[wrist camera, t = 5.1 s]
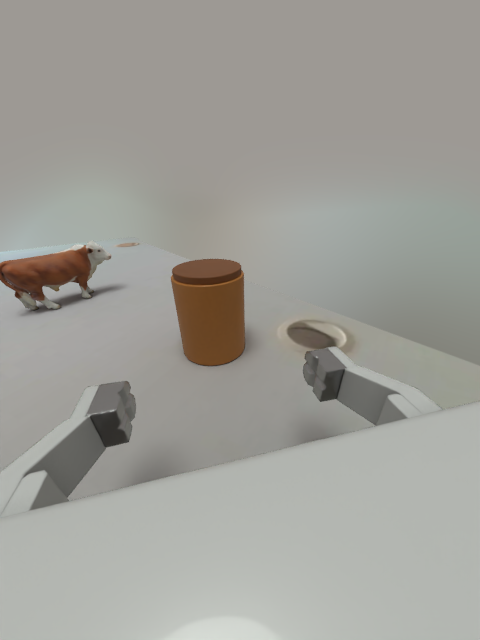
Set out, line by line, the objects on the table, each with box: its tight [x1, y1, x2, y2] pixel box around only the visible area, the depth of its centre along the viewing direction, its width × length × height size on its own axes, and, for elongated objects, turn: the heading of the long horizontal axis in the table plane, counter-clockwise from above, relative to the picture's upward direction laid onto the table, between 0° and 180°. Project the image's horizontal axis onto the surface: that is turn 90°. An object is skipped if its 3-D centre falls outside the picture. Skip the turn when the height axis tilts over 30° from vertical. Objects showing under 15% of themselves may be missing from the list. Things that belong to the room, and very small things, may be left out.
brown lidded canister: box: [171, 259, 245, 366], centre depth 21 cm, size 6×6×8 cm
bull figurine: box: [0, 241, 111, 310], centre depth 33 cm, size 4×13×8 cm, turn 140°
